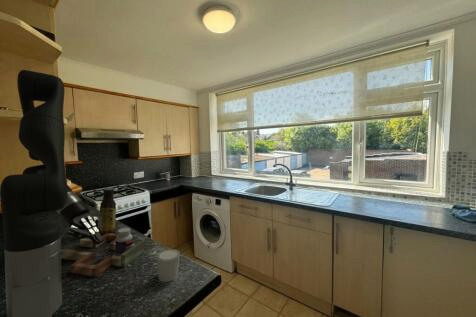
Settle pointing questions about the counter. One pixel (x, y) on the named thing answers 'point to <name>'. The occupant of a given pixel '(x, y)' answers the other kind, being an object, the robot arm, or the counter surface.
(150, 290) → the counter surface
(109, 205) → the sauce bottle
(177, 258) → the white cup
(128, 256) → the trap channel
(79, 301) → the counter surface
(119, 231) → the pill bottle
